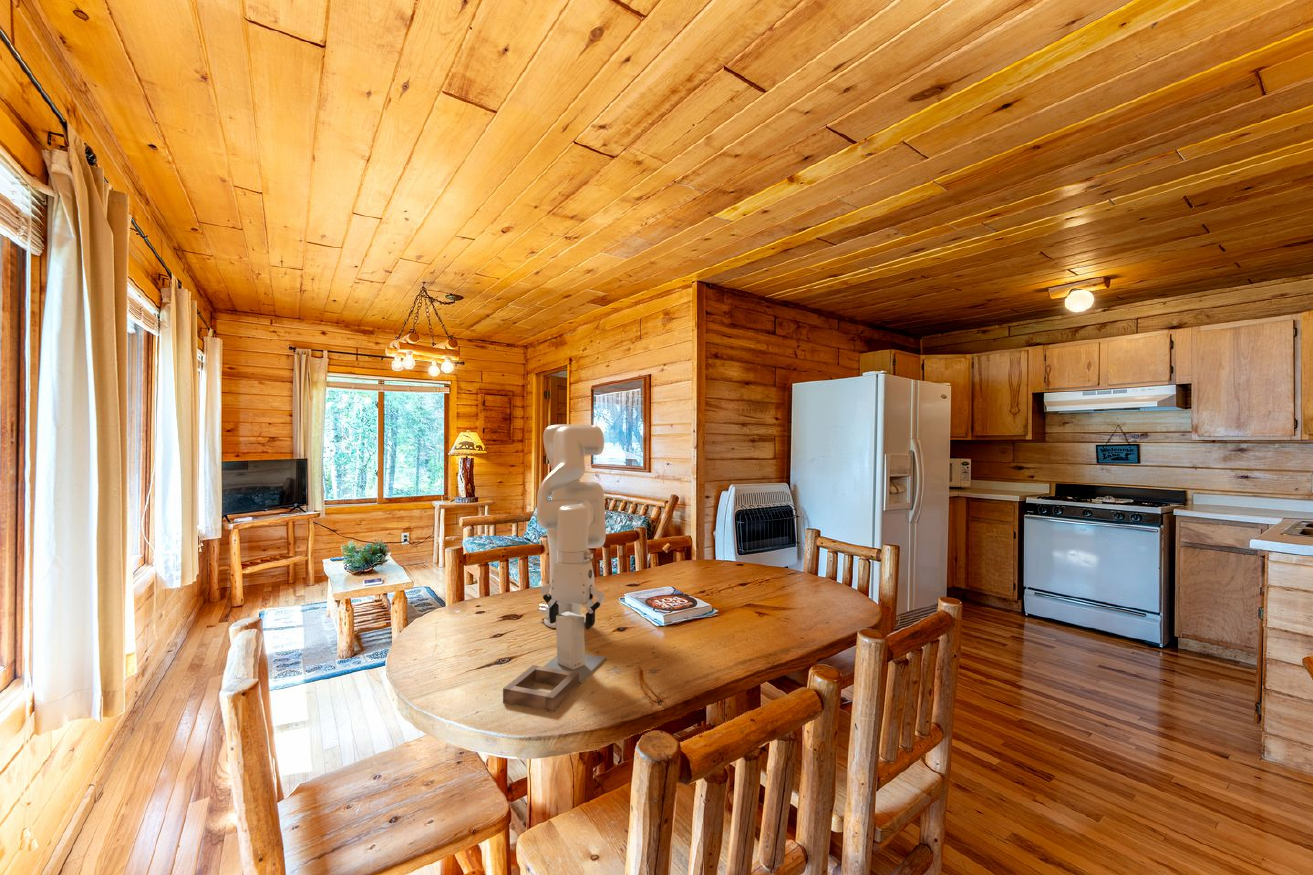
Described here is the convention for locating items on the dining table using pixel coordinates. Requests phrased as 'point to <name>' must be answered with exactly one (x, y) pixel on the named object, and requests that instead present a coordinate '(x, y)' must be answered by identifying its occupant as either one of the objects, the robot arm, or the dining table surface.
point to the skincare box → (570, 640)
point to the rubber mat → (583, 671)
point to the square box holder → (540, 699)
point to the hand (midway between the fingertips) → (571, 624)
